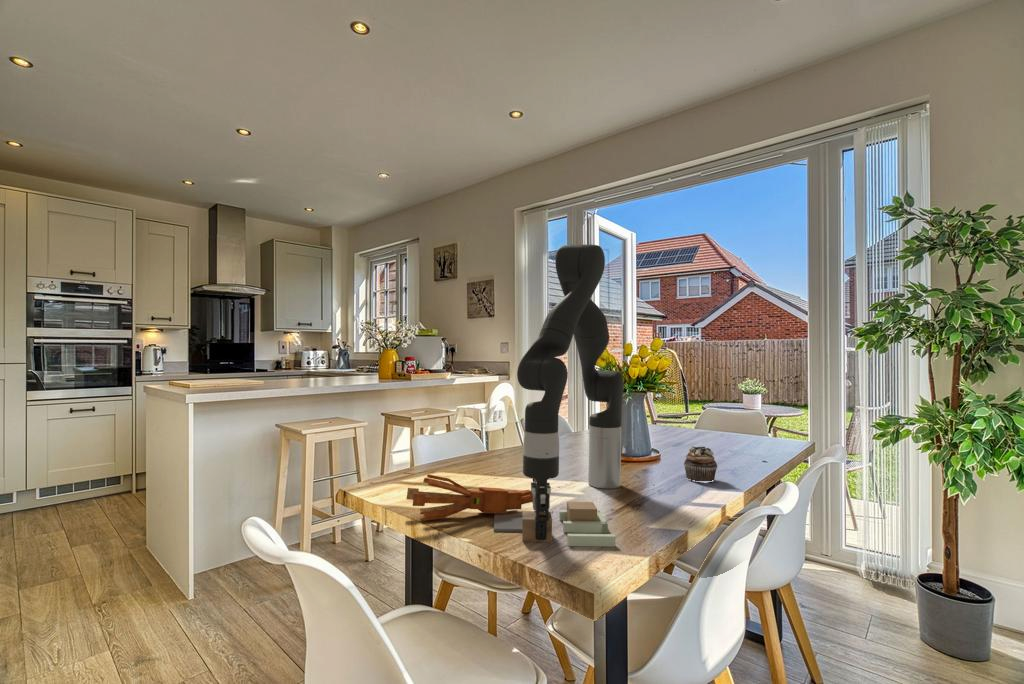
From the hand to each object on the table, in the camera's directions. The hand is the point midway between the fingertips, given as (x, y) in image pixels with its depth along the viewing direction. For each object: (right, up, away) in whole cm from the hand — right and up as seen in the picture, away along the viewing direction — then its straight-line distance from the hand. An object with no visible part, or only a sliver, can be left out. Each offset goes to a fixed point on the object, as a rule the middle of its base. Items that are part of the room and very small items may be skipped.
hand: (539, 533), depth 103 cm
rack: (+10, -1, +3) cm, 11 cm away
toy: (-15, -1, +13) cm, 20 cm away
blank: (-1, -1, 0) cm, 1 cm away
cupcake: (+52, -3, +48) cm, 71 cm away
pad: (-5, -1, +7) cm, 9 cm away
